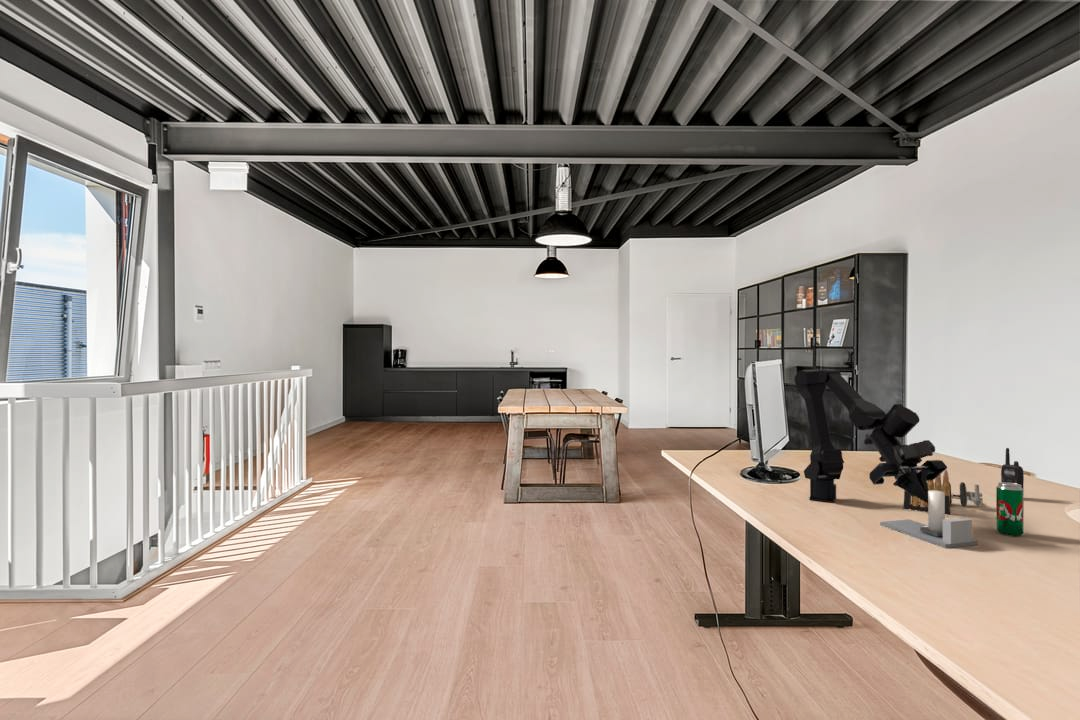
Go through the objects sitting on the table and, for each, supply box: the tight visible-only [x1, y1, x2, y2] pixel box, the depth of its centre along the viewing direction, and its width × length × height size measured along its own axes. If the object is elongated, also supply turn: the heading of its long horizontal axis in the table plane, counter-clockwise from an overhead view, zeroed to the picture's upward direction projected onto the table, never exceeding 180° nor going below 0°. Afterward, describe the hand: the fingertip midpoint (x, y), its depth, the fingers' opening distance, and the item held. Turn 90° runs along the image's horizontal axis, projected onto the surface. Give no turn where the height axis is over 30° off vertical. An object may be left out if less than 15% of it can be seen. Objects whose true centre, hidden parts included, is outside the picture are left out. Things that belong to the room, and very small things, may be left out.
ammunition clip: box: [903, 469, 951, 516], centre depth 157 cm, size 11×2×12 cm, turn 53°
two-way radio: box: [1000, 447, 1025, 490], centre depth 171 cm, size 6×4×15 cm
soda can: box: [995, 481, 1025, 537], centre depth 137 cm, size 5×5×12 cm
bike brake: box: [933, 481, 984, 508], centre depth 168 cm, size 14×7×20 cm
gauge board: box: [879, 516, 978, 549], centre depth 137 cm, size 18×9×6 cm, turn 13°
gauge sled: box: [920, 490, 946, 536], centre depth 135 cm, size 4×7×10 cm, turn 103°
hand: (929, 501), depth 136 cm, fingers closed
